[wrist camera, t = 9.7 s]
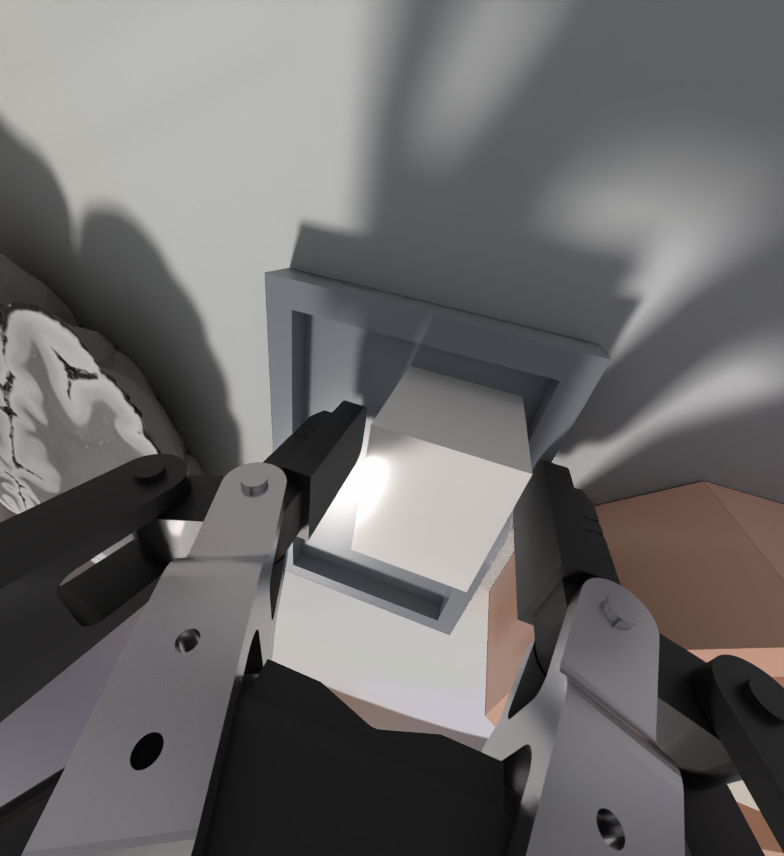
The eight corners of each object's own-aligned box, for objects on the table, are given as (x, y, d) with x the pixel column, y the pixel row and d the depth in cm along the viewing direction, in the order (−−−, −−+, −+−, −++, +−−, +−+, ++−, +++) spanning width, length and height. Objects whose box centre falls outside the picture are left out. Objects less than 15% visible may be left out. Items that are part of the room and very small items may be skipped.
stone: (409, 365, 10) (370, 424, 7) (522, 396, 9) (532, 474, 6) (387, 472, 12) (351, 549, 9) (475, 501, 12) (466, 592, 9)
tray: (288, 267, 10) (264, 272, 9) (598, 344, 8) (611, 359, 8) (291, 549, 18) (278, 568, 17) (453, 610, 16) (449, 635, 15)
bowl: (581, 445, 10) (629, 576, 6) (1060, 584, 8) (1521, 877, 5) (466, 627, 17) (456, 743, 13) (719, 724, 15) (792, 890, 11)
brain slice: (308, 430, 13) (264, 475, 11) (200, 570, 23) (164, 612, 20) (-168, 50, 11) (-366, -3, 8) (-65, 388, 20) (-143, 410, 18)
